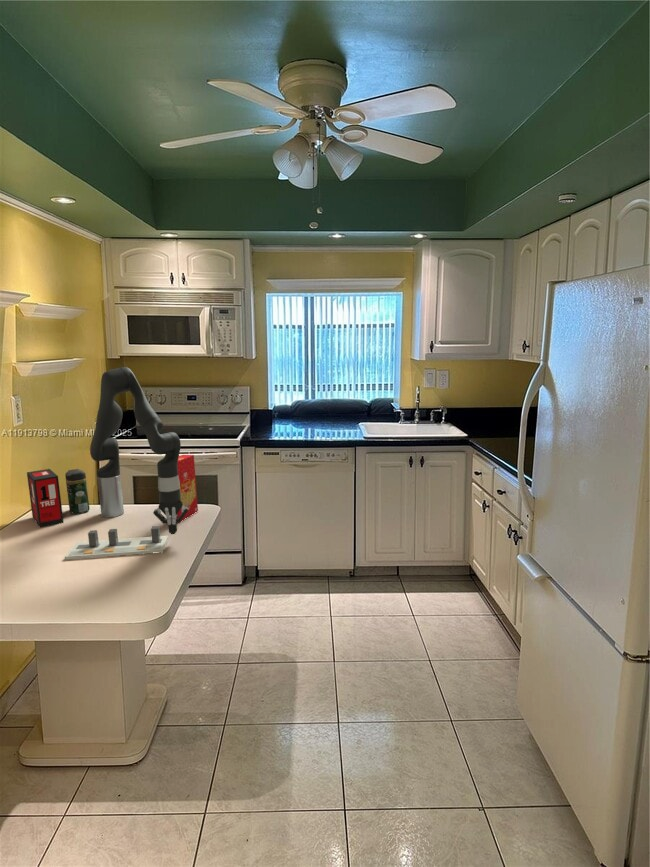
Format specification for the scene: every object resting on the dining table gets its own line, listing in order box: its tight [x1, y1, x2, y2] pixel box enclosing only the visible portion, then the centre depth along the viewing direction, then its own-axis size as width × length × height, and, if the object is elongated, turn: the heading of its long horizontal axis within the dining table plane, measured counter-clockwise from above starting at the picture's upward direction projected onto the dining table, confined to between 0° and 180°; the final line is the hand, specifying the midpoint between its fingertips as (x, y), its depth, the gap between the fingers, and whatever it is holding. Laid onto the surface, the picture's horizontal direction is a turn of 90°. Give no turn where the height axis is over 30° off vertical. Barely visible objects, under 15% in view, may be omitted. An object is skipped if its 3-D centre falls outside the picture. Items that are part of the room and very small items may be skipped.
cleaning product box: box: [26, 468, 64, 528], centre depth 238 cm, size 16×9×20 cm, turn 36°
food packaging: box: [171, 454, 199, 522], centre depth 236 cm, size 15×5×25 cm, turn 162°
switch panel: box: [64, 535, 169, 561], centre depth 205 cm, size 14×33×2 cm, turn 97°
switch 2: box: [150, 525, 161, 542], centre depth 207 cm, size 3×2×5 cm
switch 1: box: [87, 529, 99, 547], centre depth 205 cm, size 3×2×5 cm
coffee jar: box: [64, 468, 90, 515], centre depth 249 cm, size 10×8×19 cm
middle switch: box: [107, 528, 119, 545], centre depth 206 cm, size 3×2×5 cm
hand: (173, 533), depth 208 cm, fingers closed
